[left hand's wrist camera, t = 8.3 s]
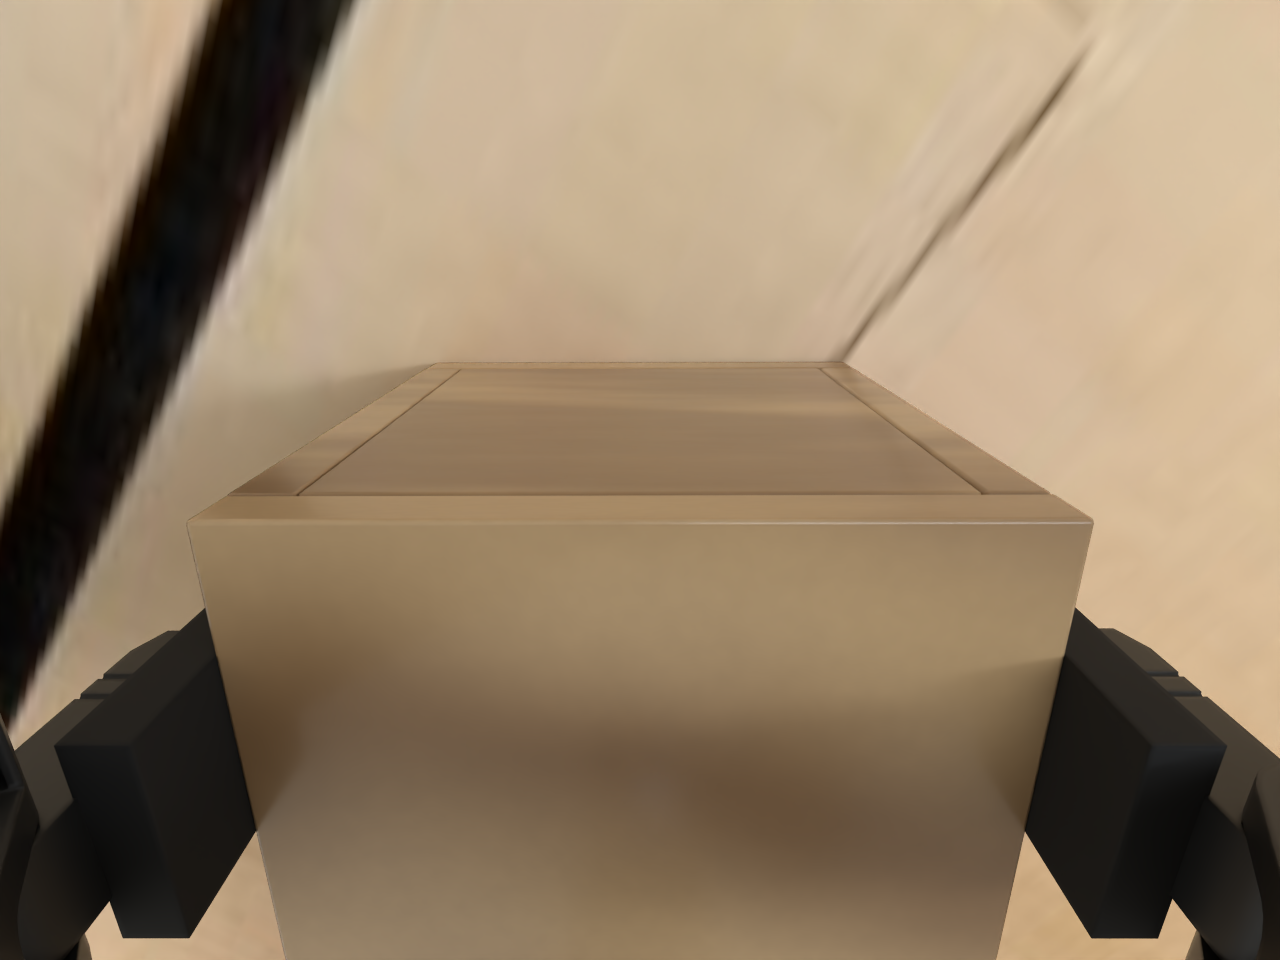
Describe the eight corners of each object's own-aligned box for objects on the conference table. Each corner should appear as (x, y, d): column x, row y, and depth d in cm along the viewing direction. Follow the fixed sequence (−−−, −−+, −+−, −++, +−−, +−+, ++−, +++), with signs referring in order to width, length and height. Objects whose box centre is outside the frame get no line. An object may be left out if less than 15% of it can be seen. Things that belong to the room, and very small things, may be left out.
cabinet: (789, 963, 24) (888, 1446, 15) (492, 963, 24) (395, 1447, 15) (845, 361, 18) (1098, 519, 8) (434, 362, 18) (182, 521, 8)
